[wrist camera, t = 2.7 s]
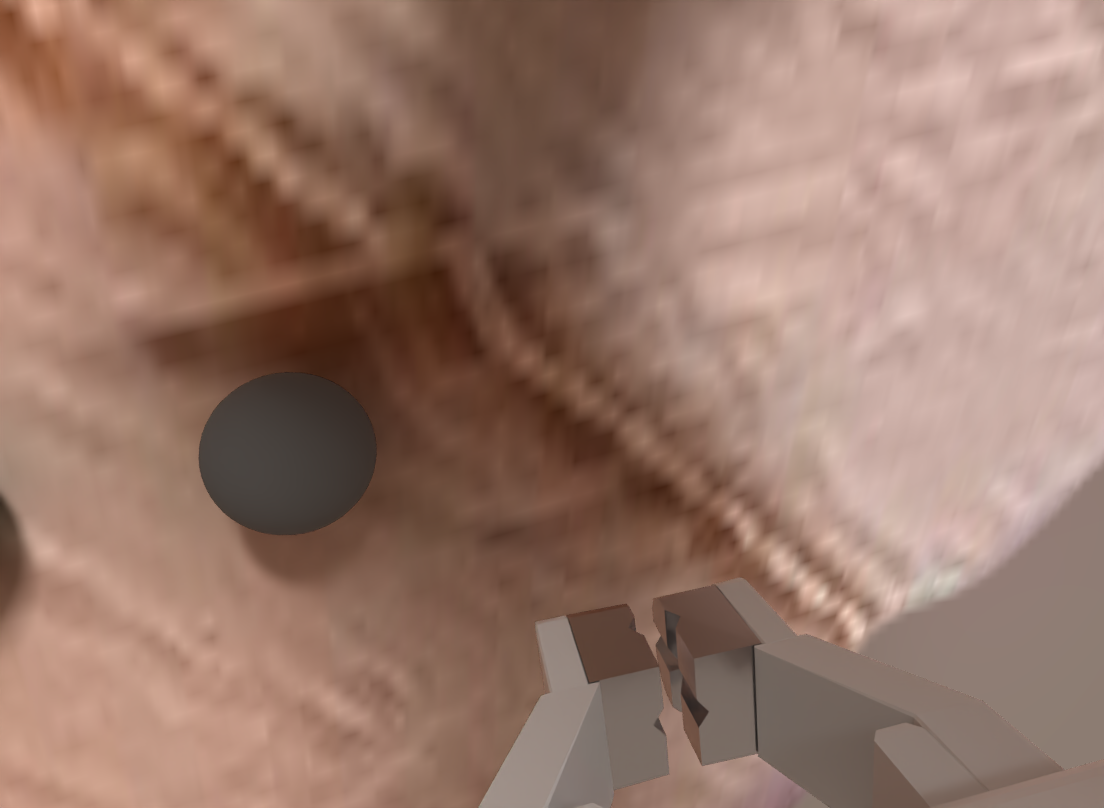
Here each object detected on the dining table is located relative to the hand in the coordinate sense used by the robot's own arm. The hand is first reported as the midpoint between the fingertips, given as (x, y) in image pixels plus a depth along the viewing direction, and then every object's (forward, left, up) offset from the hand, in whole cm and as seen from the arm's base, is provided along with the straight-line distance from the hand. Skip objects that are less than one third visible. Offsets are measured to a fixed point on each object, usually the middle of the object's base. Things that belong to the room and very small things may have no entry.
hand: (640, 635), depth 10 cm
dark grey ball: (+9, 0, -14) cm, 17 cm away
